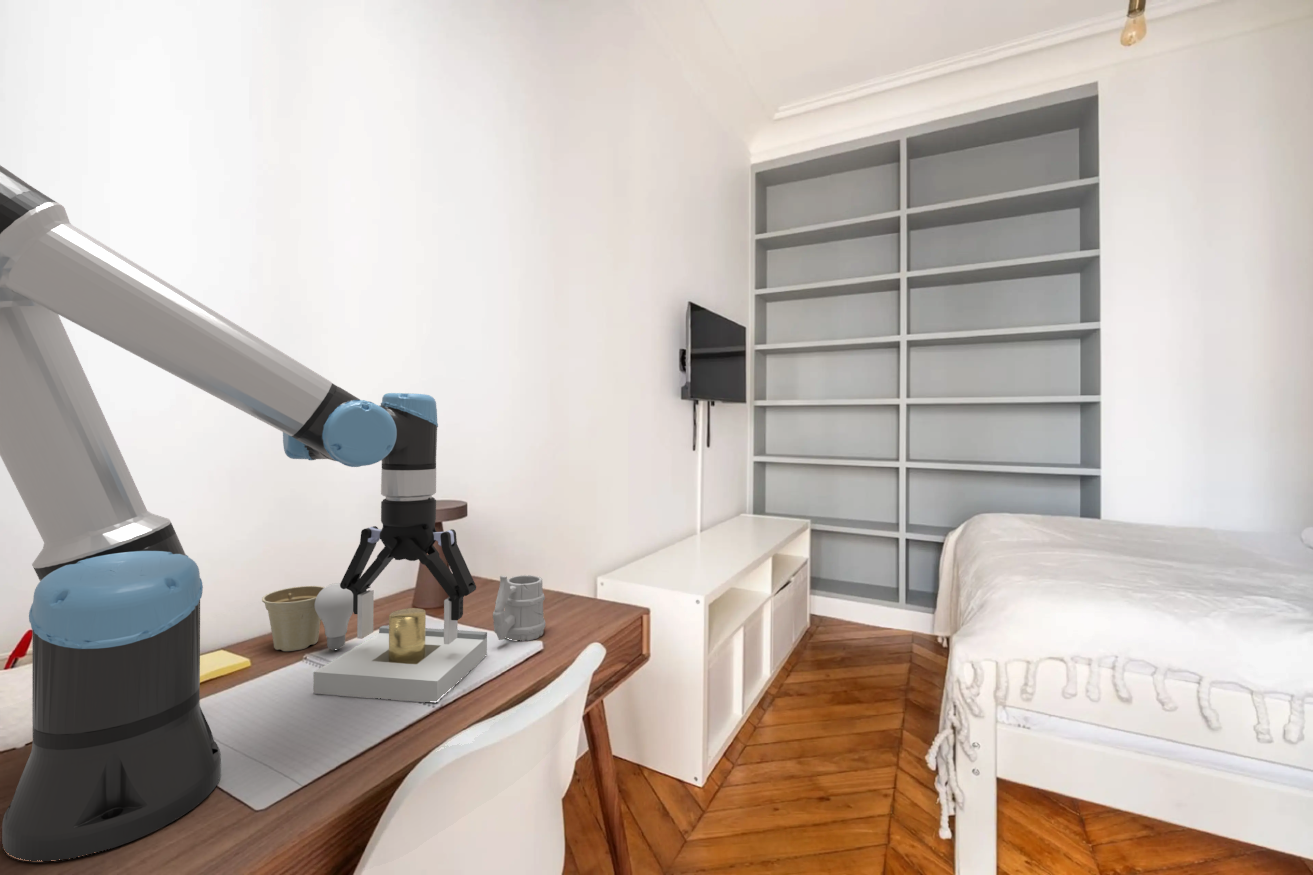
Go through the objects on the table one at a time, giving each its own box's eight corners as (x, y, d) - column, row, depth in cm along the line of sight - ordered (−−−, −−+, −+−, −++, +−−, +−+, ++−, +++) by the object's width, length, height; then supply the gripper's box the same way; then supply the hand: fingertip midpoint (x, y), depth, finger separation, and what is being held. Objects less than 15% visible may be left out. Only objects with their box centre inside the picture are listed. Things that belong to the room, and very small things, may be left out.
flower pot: (274, 661, 87) (274, 606, 87) (252, 646, 92) (253, 594, 92) (338, 643, 94) (338, 592, 94) (314, 630, 100) (315, 582, 100)
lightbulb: (337, 659, 88) (338, 590, 88) (304, 655, 89) (305, 587, 89) (365, 644, 94) (366, 579, 94) (334, 641, 95) (334, 577, 95)
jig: (437, 703, 75) (437, 675, 75) (313, 693, 77) (313, 666, 77) (486, 655, 91) (487, 631, 90) (383, 647, 93) (383, 625, 93)
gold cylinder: (413, 681, 81) (414, 620, 81) (381, 679, 81) (381, 618, 81) (431, 666, 86) (431, 609, 86) (400, 664, 86) (401, 607, 86)
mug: (553, 630, 102) (554, 565, 102) (513, 653, 91) (514, 581, 91) (519, 623, 105) (519, 560, 105) (476, 646, 94) (477, 575, 94)
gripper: (499, 496, 85) (497, 633, 86) (348, 491, 88) (347, 624, 89) (478, 503, 78) (476, 653, 78) (314, 497, 81) (312, 642, 81)
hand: (407, 638), depth 84 cm, fingers open, 13 cm apart
